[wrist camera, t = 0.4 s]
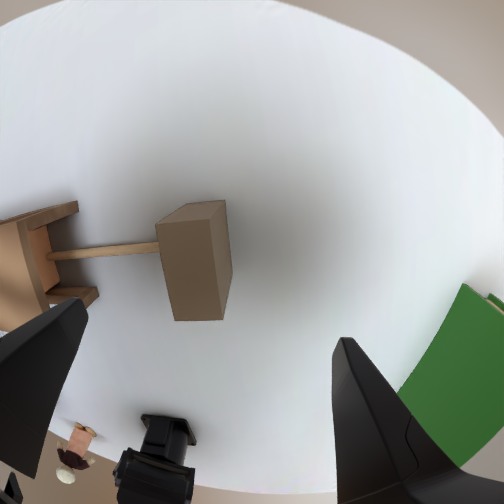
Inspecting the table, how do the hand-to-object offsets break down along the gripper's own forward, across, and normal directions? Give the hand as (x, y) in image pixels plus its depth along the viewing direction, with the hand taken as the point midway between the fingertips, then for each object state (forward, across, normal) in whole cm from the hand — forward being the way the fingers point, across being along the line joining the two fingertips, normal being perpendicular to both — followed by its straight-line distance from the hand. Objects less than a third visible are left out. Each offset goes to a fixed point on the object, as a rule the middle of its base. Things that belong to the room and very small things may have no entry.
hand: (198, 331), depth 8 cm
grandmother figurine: (+4, +25, +39) cm, 46 cm away
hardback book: (+12, -26, +15) cm, 32 cm away
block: (+12, +13, +5) cm, 19 cm away
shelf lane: (+11, +22, +7) cm, 26 cm away
